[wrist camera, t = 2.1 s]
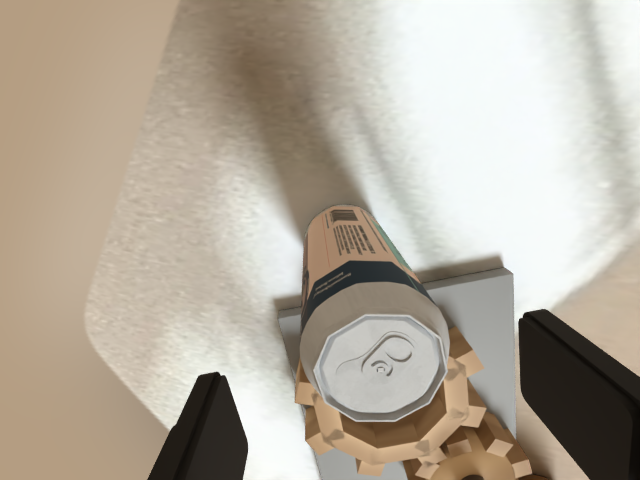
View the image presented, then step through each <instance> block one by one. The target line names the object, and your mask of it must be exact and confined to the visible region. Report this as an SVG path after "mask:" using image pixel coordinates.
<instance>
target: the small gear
mask: <svg viewBox="0 0 640 480" xmlns="http://www.w3.org/2000/svg"><path fill="white" fill-rule="evenodd" d="M441 445H442V447H443V450H444V452H445V454H446V457H447V458H446V459H444V460H442V461H440V462H438V463H436V464H434V463H429V464H432V466H430V467H429V464H428V462H427V461H425V463H427V465H428V468H427V467H424V465H425V464H422V463H421V462H420V461H419V459H418V458H414V459H408V460H404V461H403V465H404V468H405V472H406V475H407V479H408V480H519V479H518V477H522V476H525V475H529V474H532V470H531V466H530V463H529V459H528V458H527V456H526V455H525V453H524V451H523V450H522V448H521V447H520V445H519V444H518V442H517V441H516V439H515V438H514V436H513V435H512V433H511V432H510V430H509V429H508V428H507V429H503V428H502V426H501V424H500V423H499V421H498V420H497V418H496V417H495V415H494V414H491V413H489V412H486V411H485V413H484V415H483V418H482V420H481V422H480V425H479V427H470V426H463V425H460V426H459V427H458V428H457V429H456V430H455V431H454V432H453V433H452V434H451V435H450V436H449V437H448V438H447V439H446V440H445V441H444V442H443V443H442V444H441Z"/></svg>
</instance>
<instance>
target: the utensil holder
mask: <svg viewBox="0 0 640 480" xmlns="http://www.w3.org/2000/svg"><path fill="white" fill-rule="evenodd" d="M518 479H519V480H548V479H547V478H545V477H542V476H538V475H525V476H522V477H518Z"/></svg>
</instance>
